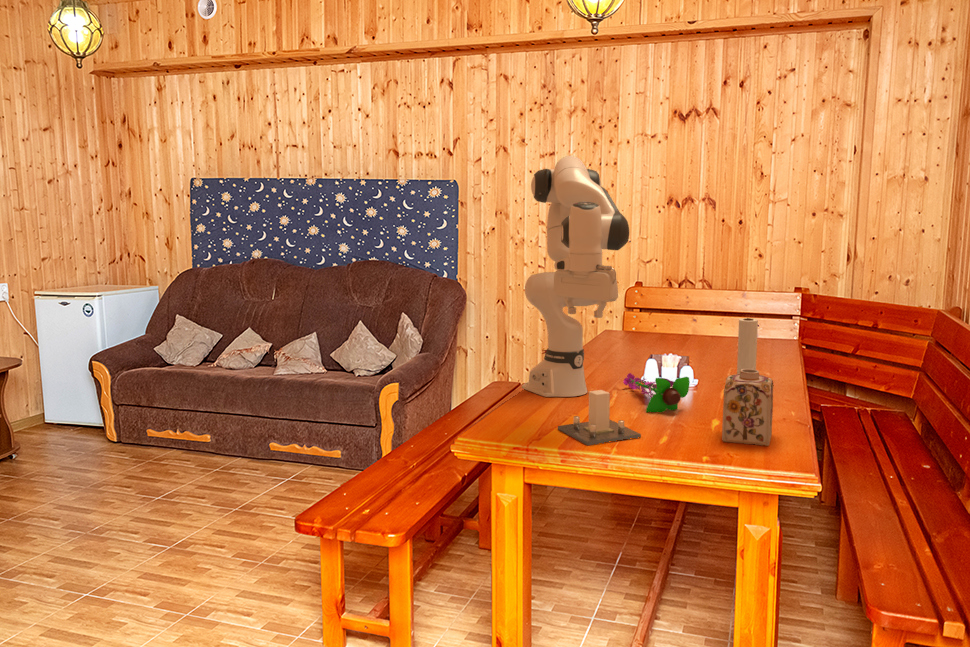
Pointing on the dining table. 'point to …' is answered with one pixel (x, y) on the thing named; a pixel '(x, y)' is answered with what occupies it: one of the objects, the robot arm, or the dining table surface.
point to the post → (599, 409)
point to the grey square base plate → (592, 437)
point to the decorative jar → (748, 408)
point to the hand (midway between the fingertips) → (584, 315)
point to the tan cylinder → (747, 344)
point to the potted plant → (661, 392)
